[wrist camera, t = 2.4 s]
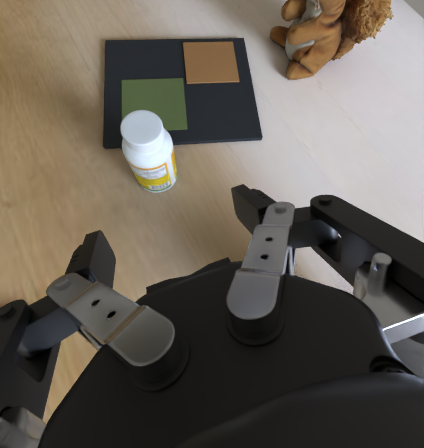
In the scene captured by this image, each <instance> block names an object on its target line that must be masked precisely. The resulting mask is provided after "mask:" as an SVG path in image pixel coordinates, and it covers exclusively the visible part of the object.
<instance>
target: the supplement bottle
mask: <svg viewBox="0 0 424 448" xmlns="http://www.w3.org/2000/svg"><path fill="white" fill-rule="evenodd" d="M120 129H121V134H122V137H123V140H122V150H123V154H124V156H125V158H126V160H127V162H128V164H129V165H130V167H131V169H132V171H133V173H134V175H135V177H136V179H137V181H138V182H139V184H140V185H141V186H142V187H143V188H144V189H145V190H147V191H150V192H155V193H159V192H164V191H166V190H168V189H170V188H171V187H172V186H173V185H174V183H175V181H176V179H177V168H176V161H175V154H174V148H173V142H172V138H171V136H170V134H169V133H168V132H167V131H166V130H165V129H164V128H163V124H162V121H161V119H160V118H159V117H158V116H157V115H156V114H155V113H153V112H150V111H147V110H137V111H133V112H131V113H129V114H128V115H127V116H125V118H124V119H123V120H122V123H121V127H120Z"/></svg>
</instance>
